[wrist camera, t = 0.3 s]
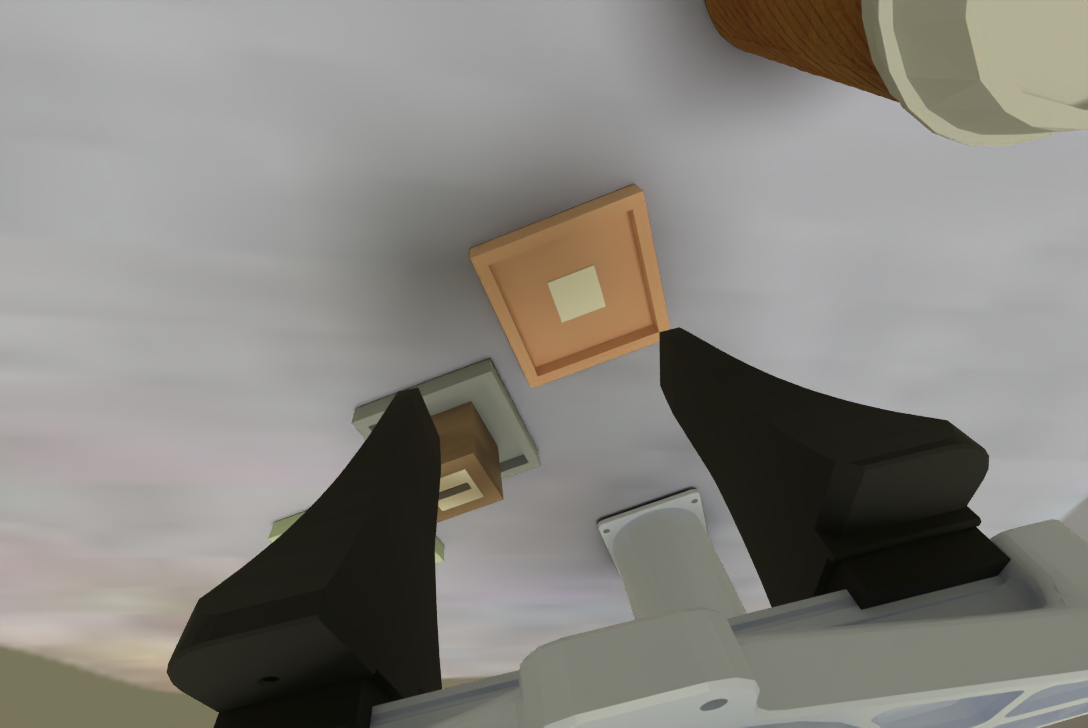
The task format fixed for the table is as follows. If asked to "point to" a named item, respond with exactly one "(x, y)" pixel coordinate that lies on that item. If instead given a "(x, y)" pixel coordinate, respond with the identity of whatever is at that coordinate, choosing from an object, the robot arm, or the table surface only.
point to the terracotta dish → (576, 286)
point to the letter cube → (466, 462)
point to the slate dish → (489, 402)
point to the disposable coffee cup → (935, 57)
